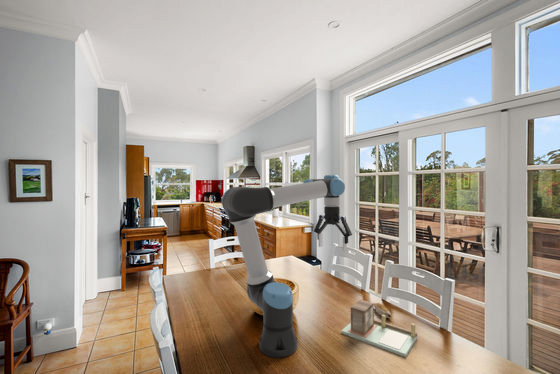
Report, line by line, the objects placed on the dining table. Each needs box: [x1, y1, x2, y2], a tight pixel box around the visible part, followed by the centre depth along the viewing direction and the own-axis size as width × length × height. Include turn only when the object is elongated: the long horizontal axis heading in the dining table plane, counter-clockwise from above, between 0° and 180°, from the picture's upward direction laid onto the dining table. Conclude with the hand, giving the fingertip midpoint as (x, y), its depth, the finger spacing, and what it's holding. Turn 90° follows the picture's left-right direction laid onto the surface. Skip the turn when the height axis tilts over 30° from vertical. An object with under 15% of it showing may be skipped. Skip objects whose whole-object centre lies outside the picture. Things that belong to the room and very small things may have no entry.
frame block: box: [350, 299, 375, 336], centre depth 119 cm, size 10×6×10 cm, turn 140°
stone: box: [373, 302, 392, 319], centre depth 135 cm, size 5×14×4 cm, turn 5°
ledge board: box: [341, 315, 418, 358], centre depth 115 cm, size 26×16×6 cm, turn 50°
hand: (332, 248), depth 138 cm, fingers open, 13 cm apart
